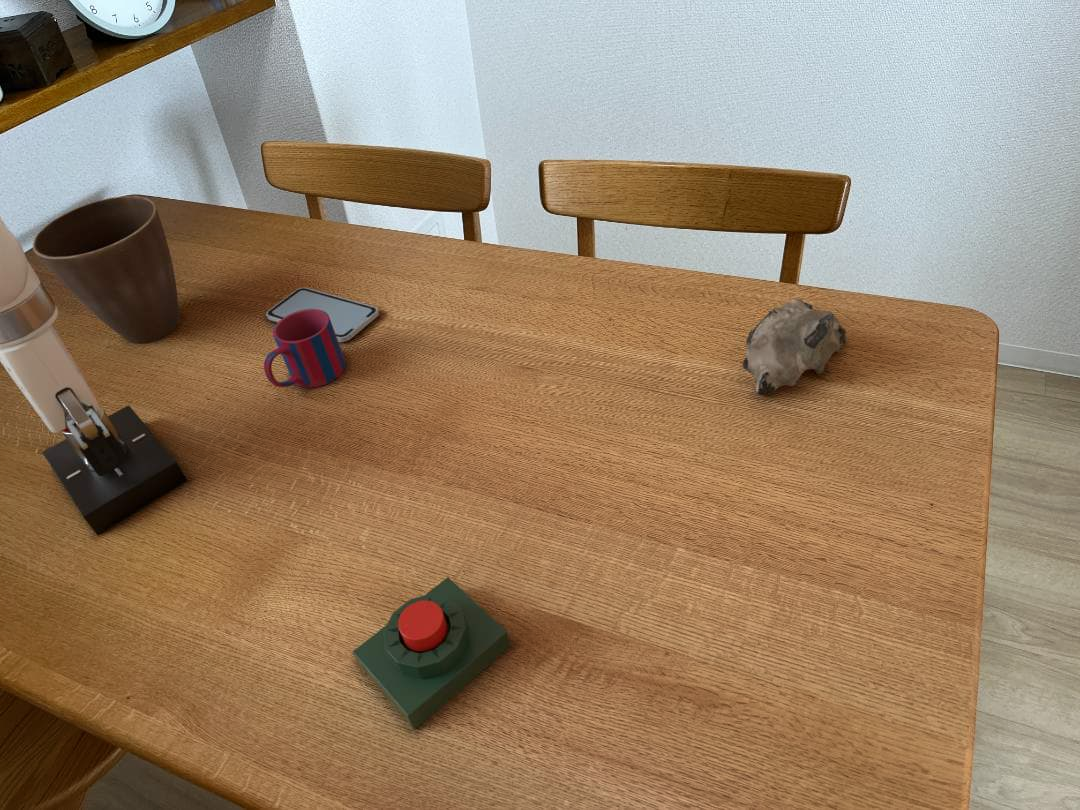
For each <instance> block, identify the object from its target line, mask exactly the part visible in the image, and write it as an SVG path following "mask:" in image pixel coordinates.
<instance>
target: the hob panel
mask: <svg viewBox="0 0 1080 810" xmlns="http://www.w3.org/2000/svg"><path fill="white" fill-rule="evenodd" d="M107 416H108V417H109V419H110V420H111V422H112V423H113V425H114V426H115V428H116V430H117V431H118V433H119V434H120V436H121V437H122V439H123V440H124V442H125V443H126V445H127V447H128V451H127V454H126V455H127V457H128V458H129V460H128V461H127V462H126V463H124V464H123V465H121V466H119V467H117V468H116V469H114V470H112V471H110V472H109V473H107V474H105V475H103V476H98V475H97V473H96V472H95V471H93V470H90V469H88V468H87V467H86V465H85V464H84V462H83V461H82V460H81V458H80V457H79V455H78V454H77V453H76V451H75V450H74V449H73V447H72V446H71V444H70V443H69V442H68V440H67V439H66V438H65V439H63V440H61V441H60V442H58V443H55V444H54V445H52V446H50V447H48V448H46V449H45V450H43V451H41V453H42V455H43V456H44V458H45V460H46V461H47V462H48V464H49V466H50V467H51V469H52V470H53V472H54V474H55V475H56V477H57V478H58V480H59V481H60V483H61V485H62V486H63V488H64V489H65V491H66V493H67V494H68V496H69V497H70V499H71V501H73V503H74V505H75V507H76V508H77V510H78V512H79V513H80V515H81V516H82V518H83V519H84V520H85V521H86V523H87V524H88V525H89V527H90V528H91V529H92V530H93V532H94V533H95V534H96V536H99V535H101V534H102V533H104V532H106V531H108V530H109V529H111V528H113V527H114V526H115V525H117V524H119V523H120V522H122V521H124V520H125V519H127V518H129V517H131V516H132V515H134V514H135V513H137V512H139V511H140V510H142V509H144V508H146V507H147V506H149V505H150V504H152V503H154V502H155V501H157V500H159V499H161V498H162V497H163V496H166V495H167V494H169V493H170V492H172V491H173V490H175V489H177V488H178V487H180V486H182V485H184V484H186V483H187V482H188V478H187V477H186V475H185V474H184V472H183V470H182V468H181V467H180V466H179V464H178V462H177V461H176V460H175V458H174V457H173V456H172V455H171V453H170V452H169V450H167V449H166V447H165V446H164V445H163V444H162V443H161V442H160V440H159V439H158V438H157V437H156V436H155V435H154V433H153V432H152V431H151V429H149V428H148V426H147V425H146V424H145V423H144V421H143V420H142V419H141V418H140V416H138V414H137V413H136V412H135V410H133V409H132V407H131V406H130V405H129V404H128V405H126V406H124V407H122V408H120V409H119V410H117V411H115V412H113V413H111V414H109V415H107Z"/></svg>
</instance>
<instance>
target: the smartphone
mask: <svg viewBox="0 0 1080 810" xmlns="http://www.w3.org/2000/svg"><path fill="white" fill-rule="evenodd" d="M305 309H318V310H322V311H324V312H326V313H327V314H328V315H329V318H330V320H331V323H332V326H333V329H334V331H335V334H336V337H337V339H338V342H339V343H344V342H345V343H346V342H348V341H350V340H351V339H353V338H355V336H356V335H358V333H360V332H361V331H362V330H363V329H365V327H367V326H368V325H369V324H371V323H372V322H373V321H374V320H375V319H376V318H377V317H378V316H379V315H380V312H379V309H378V308H377V306H373V305H370V304H366V303H362V302H360V301H356V300H353V299H348V298H346V297H340V296H338V295H334V294H330V293H327V292H323V291H320V290H316V289H312V288H309V287H299V288H297V289H295V290H294V291H293V292H291V293H290V294H288V295H287V296H286V297H284V298H283V299H281V301H279V302H278V303H276V304H275V305H273V306H272V307H271V308H270V309H267V311H266V313H265V314H266V318H267V319H268V321H271V322H275V323H278V322H279V321H280V320H281V319H283V318H284V317H286V316H287V315H289V314H291V313H294V312H297V311H300V310H305Z"/></svg>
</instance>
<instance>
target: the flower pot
mask: <svg viewBox="0 0 1080 810" xmlns="http://www.w3.org/2000/svg"><path fill="white" fill-rule="evenodd" d="M32 250H33V252H34V253H35V254H36V255H37V257H38V258H39V259H41V261H42V263H44V265H45V266H46V267H47V268H48V269H49V270H50V272H51V273H52V274H53V275H54V276H55V277H56V279H57V280H59V282H60V283H61V284H62V285H63V286H64V287H65V288H66V289H67V290H68V292H70V293H71V294H72V295H73V296H74V297H75V298H76V299H77V300H78V301H79V302H80V303H81V304H82V305H83V306H84V307H85V308H86V309H87V310H89V311H90V312H91V313H92V314H93V315H94V316H95V317H97V318H98V319H99V321H101V322H103V323H104V324H105V325H106V326H108V327H109V329H111V330H113V332H115V333H117V334H118V335H119V336H120V337H122V338H123V339H124V340H126V341H127V342H129V343H131V344H145V343H146V344H147V343H150V342H154V341H156V340H159V339H161V338H163V337H165V336H167V335H168V334H170V333H171V332H172V331H174V329H175V328H176V327H177V325H178V324H179V322H180V309H179V298H178V289H177V281H176V276H175V271H174V266H173V260H172V255H171V251H170V248H169V244H168V240H167V236H166V232H165V229H164V227H163V224H162V221H161V217H160V215H159V211H158V209H157V206H156V204H155V202H154V201H153V200H151V199H150V198H147V197H143V196H138V195H123V196H115V197H114V196H113V197H108V198H104V199H99V200H95V201H92V202H90V203H86V204H84V205H81V206H79V207H76V208H74V209H71V210H69V211H67V212H66V213H63V214H61V215H60V216H58V217H56V218H55V219H53V220H52V221H49V223H48V224H46V225H45V226H44V227H43V228H42V229H41V230H40V231H38V233H37V234H36V236H35V237H34V239H33V242H32Z"/></svg>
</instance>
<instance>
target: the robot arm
mask: <svg viewBox="0 0 1080 810" xmlns="http://www.w3.org/2000/svg"><path fill="white" fill-rule="evenodd" d="M25 253H26V252H25V251H24V249H23V247H22V245H21V243H20V241H19V240H18V238H17V237H16V236H15V234H14V233H13V232H12V231H11V230H10V229H9V228H8V226H7V225H6V224H5V222H4V220H3V219H2V217H1V216H0V363H1V365H2V366H3V368H4V369H5V371H6V372H7V373H8V375H9V376H10V378H11V379H12V380H13V382H14V383H15V385H16V386H17V387H18V389H19V390H20V392H21V393H22V394H23V396H24V397H25V398H26V400H27V401H28V402H29V404H30V406H31V407H32V409H34V411H35V412H36V414H37V415H38V417H40V419H41V420H42V422H43V423H44V425H45V426H46V427H47V428H48V430H49V432H50V433H52V434H60V433H61V431H62V430H64V429H66V426H67V427H68V428H69V430H70V431H71V433H72V434H73V435H74V437H75V438H76V440H77V441H78V443H79V444H80V445H81V446H79V449H80V450H81V452H82V453H83V455H84V456H85V457H86V459H87V460H88V462H89V463H90V465H91V466H92V467H93V469H94V470H95V472H96V473H97V475H98V476H103V475H105V474H107V473H109V472H110V471H112V470H114V469H116V468H117V467H119V466H121V465H123V464H124V463H126V462H127V461H128V460H129V458H128V457H127V455H126V453H125V452H124V450H123V449H122V447H121V446H120V444H119V443H118V441H117V440H116V438H115V437H114V435H113V434H112V432H111V431H110V430H109V431H108V430H107V429H106V427H105V426H104V425H103V423H102V422H101V420H100V419H99V417H98V416H97V414H96V413H97V412H98V410H99V407H101V406H100V405H99V402H98V400H97V399H96V397H95V395H94V393H93V391H92V390H91V388H90V385H89V384H88V382H87V381H86V379H85V377H84V375H83V373H82V371H81V370H80V368H79V366H78V364H77V363H76V361H75V360H74V358H73V356H72V354H71V353H70V351H69V350H68V348H67V347H66V345H65V343H64V342H63V340H62V339H61V337H60V335H59V334H58V332H57V330H56V329H55V327H54V326H53V324H54V322H55V321H56V320H57V318H58V316H59V309H58V307H57V304H55V302H54V300H53V299H52V297H51V295H50V294H49V292H48V291H47V289H46V287H45V286H44V285H43V283H42V281H41V280H40V277H39V276H38V275H37V273H36V272H35V270H34V268H33V267H32V265H31V263H30V261H29V260H28V258H27V256H26V254H25ZM84 406H86V408H87V409H88V410H87V411H85V410H84V409H83V408H82V407H84ZM95 412H96V413H95ZM68 414H70V415H71V417H72V419H70V420H67V418H66V416H67V415H68ZM90 417H91V418H92V419H93V421H94V422H95V425H94V423H93V422H92V420H91V419H90ZM75 425H78V427H79V428H80V430H81V431H82V432H80V434H79V432H78V431H77V430H76V428H75V427H74V426H75Z"/></svg>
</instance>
